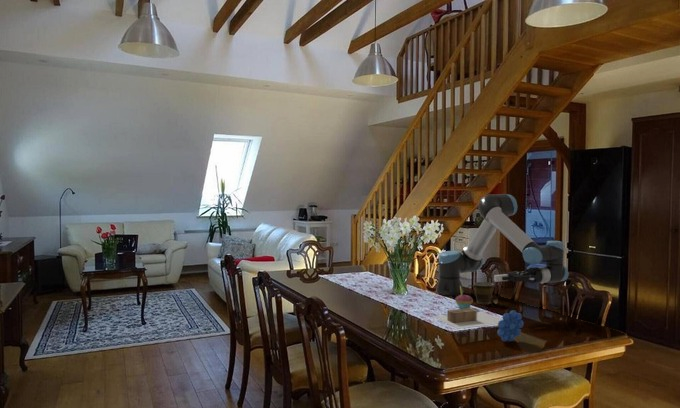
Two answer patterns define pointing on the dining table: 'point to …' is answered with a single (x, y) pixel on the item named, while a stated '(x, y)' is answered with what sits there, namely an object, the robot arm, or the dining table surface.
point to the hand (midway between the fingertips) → (495, 278)
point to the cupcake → (463, 301)
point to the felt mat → (482, 320)
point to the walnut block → (462, 315)
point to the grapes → (510, 326)
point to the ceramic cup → (483, 292)
